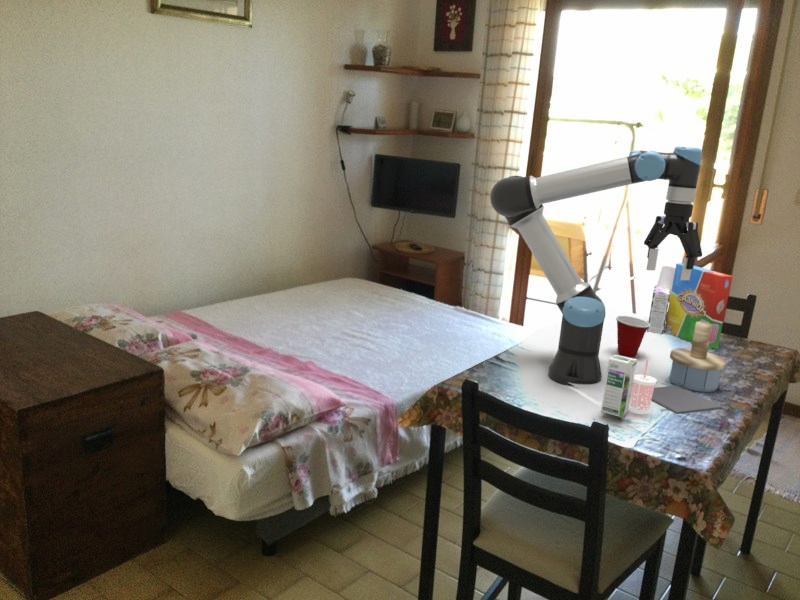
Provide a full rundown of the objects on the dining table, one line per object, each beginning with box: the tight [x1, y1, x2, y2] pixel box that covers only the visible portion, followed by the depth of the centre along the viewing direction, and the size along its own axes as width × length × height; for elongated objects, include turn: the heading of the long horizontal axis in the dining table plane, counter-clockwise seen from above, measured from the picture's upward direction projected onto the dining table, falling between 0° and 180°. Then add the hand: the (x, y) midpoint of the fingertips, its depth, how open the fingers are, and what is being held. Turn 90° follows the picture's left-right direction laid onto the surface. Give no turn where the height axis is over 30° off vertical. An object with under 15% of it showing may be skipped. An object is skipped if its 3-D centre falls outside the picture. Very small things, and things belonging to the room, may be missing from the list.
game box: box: [663, 263, 733, 350], centre depth 240 cm, size 21×6×27 cm, turn 22°
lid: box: [669, 321, 727, 371], centre depth 197 cm, size 15×15×12 cm
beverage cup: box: [629, 359, 658, 415], centre depth 174 cm, size 6×6×14 cm
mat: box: [651, 385, 723, 415], centre depth 186 cm, size 16×16×1 cm
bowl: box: [669, 360, 723, 393], centre depth 199 cm, size 13×13×7 cm
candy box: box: [646, 284, 670, 335], centre depth 253 cm, size 14×6×16 cm, turn 157°
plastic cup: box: [615, 315, 650, 358], centre depth 222 cm, size 11×11×12 cm
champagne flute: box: [657, 265, 676, 302], centre depth 256 cm, size 7×7×24 cm
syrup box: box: [600, 354, 638, 419], centre depth 172 cm, size 6×6×14 cm
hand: (667, 275), depth 199 cm, fingers open, 13 cm apart
